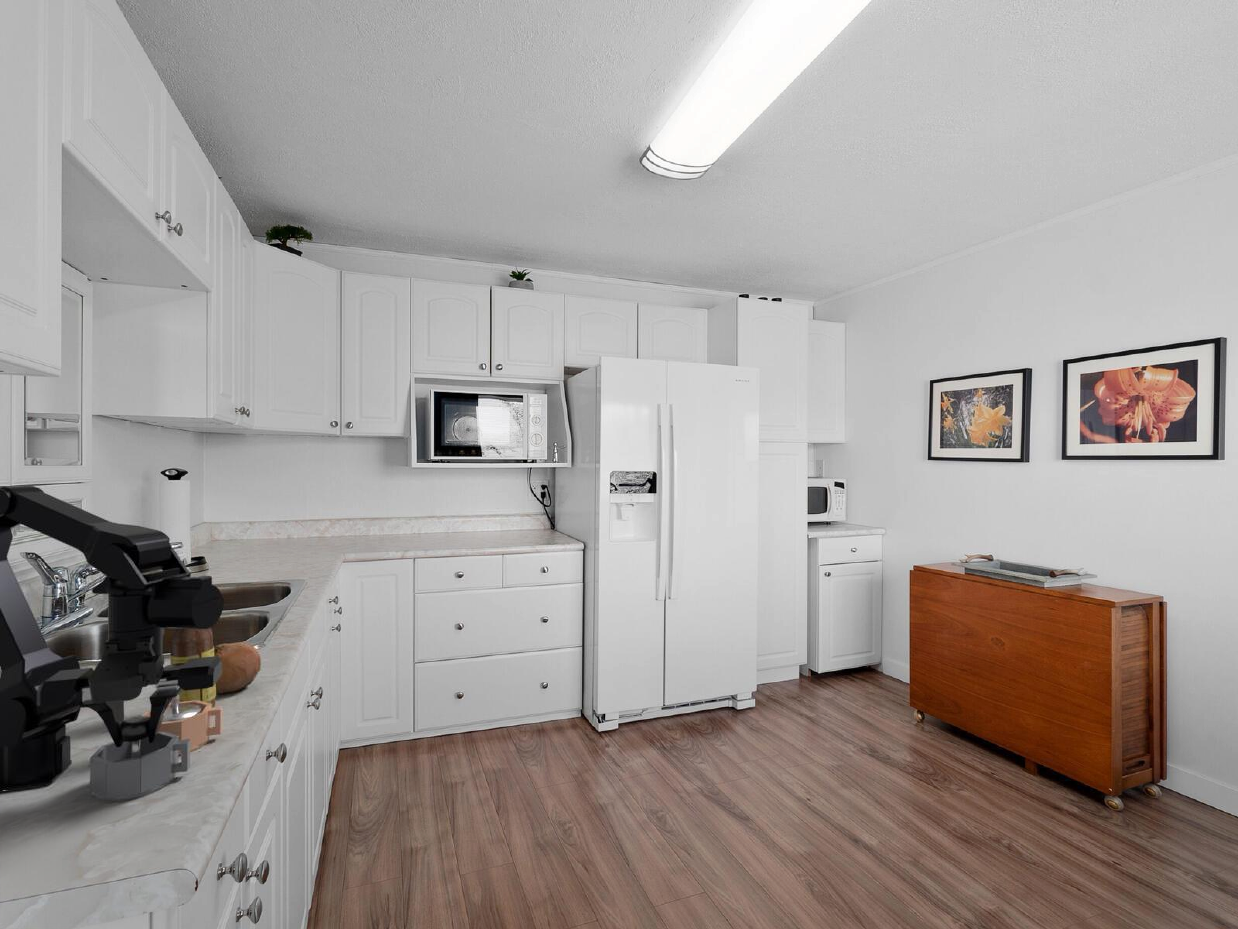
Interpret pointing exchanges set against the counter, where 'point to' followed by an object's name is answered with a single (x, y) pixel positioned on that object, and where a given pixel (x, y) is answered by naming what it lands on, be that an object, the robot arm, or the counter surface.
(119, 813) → the counter surface
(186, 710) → the black-handled metal tamper
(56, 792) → the counter surface
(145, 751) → the grey octagonal cup
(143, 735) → the coffee tamper
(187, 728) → the bowl
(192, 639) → the sauce bottle
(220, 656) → the onion
